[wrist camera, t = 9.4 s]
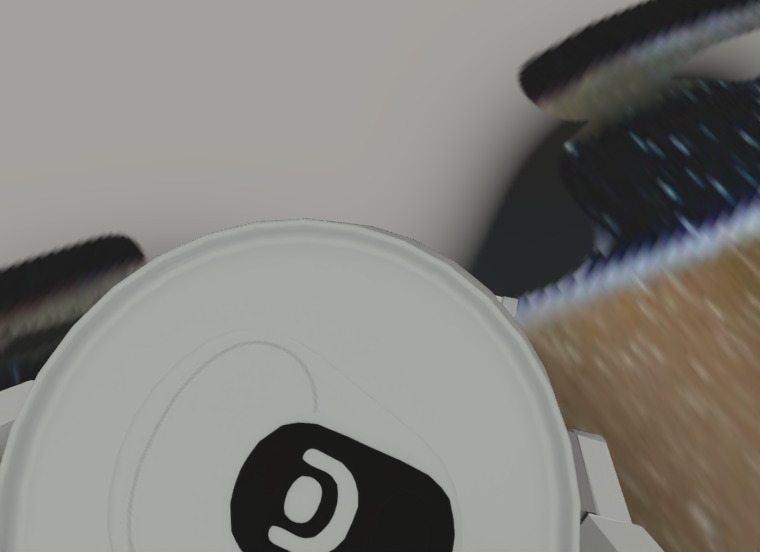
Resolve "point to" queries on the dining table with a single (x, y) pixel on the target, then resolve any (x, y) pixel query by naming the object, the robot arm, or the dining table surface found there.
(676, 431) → the dining table surface
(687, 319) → the dining table surface
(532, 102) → the dining table surface
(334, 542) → the energy drink can
